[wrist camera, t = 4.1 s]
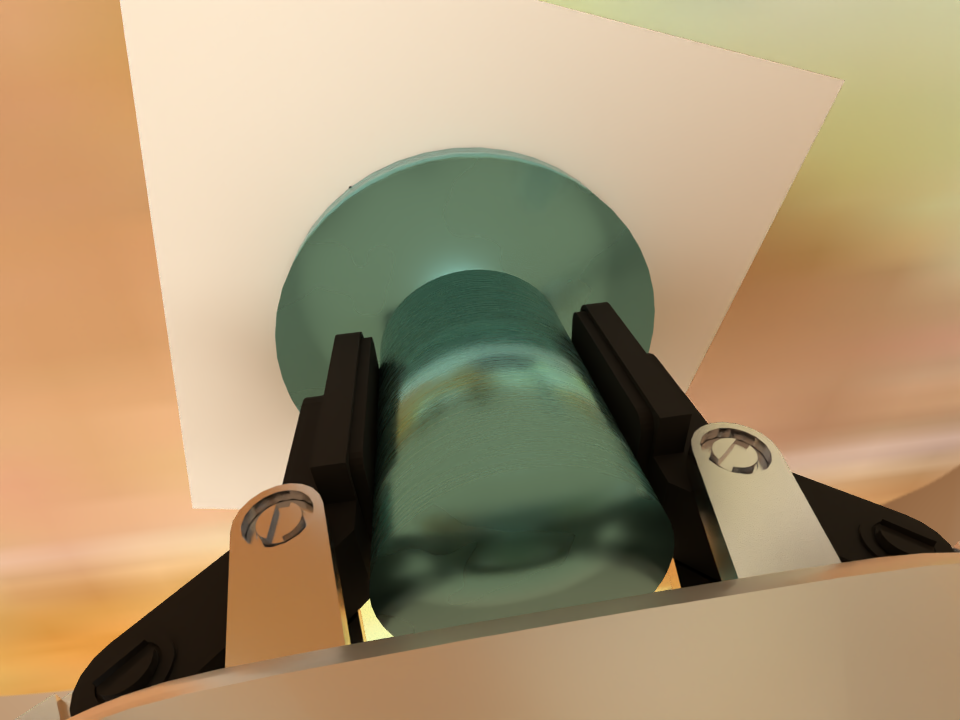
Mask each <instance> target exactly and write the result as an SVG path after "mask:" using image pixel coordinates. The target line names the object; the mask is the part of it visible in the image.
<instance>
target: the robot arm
mask: <svg viewBox="0 0 960 720" xmlns="http://www.w3.org/2000/svg"><path fill="white" fill-rule="evenodd" d="M571 341H572V343H573V345H574V347H575V348H576V350H577V352H578V354H579V356H580V358H581V359H582V361H583V363H584V365H585V367H586V368H587V370H588V372H589V374H590V376H591V378H592V379H593V381H594V383H595V385H596V387H597V389H598V390H599V392H600V394H601V396H602V398H603V399H604V401H605V403H606V405H607V407H608V409H609V410H610V412H611V414H612V416H613V418H614V420H615V421H616V423H617V425H618V427H619V429H620V430H621V432H622V434H623V436H624V438H625V440H626V441H627V443H628V445H629V447H630V449H631V451H632V452H633V454H634V456H635V458H636V460H637V461H638V463H639V465H640V467H641V469H642V471H643V472H644V474H645V476H646V478H647V480H648V482H649V483H650V485H651V487H652V489H653V491H654V492H655V494H656V496H657V498H658V500H659V502H660V503H661V505H662V507H663V509H664V511H665V513H666V514H667V516H668V518H669V520H670V522H671V525H672V529H673V532H674V544H675V545H674V552H673V558H672V561H671V563H670V566H669V569H668V574H669V578H670V582H671V587H672V590H666V591H660V592H654V593H648V594H642V595H636V596H630V597H624V598H618V599H612V600H606V601H600V602H594V603H588V604H582V605H576V606H571V607H565V608H559V609H553V610H547V611H541V612H535V613H529V614H523V615H517V616H512V617H506V618H500V619H494V620H488V621H482V622H476V623H470V624H465V625H459V626H453V627H447V628H442V629H436V630H430V631H424V632H419V633H413V634H407V635H402V636H396V637H390V638H384V639H379V640H373V641H366V636H365V631H364V625H363V620H362V615H361V610H360V608H361V607H362V606H363V605H364V604H365V603H366V602H367V601H368V600H369V598H370V596H369V584H370V562H371V540H372V519H373V497H374V476H375V454H376V433H377V411H378V390H379V365H378V360H377V355H376V350H375V345H374V341H373V338H372V337H367V338H364V336H363V334H362V332H354V333H345V334H337V335H335V338H334V344H333V349H332V354H331V359H330V364H329V370H328V375H327V380H326V385H325V390H324V395H322V396H314V397H306V398H305V399H304V400H303V402H302V405H301V409H300V413H299V417H298V422H297V426H296V430H295V434H294V438H293V442H292V446H291V450H290V454H289V458H288V462H287V467H286V471H285V475H284V479H283V483H282V485H278V486H275V487H272V488H270V489H267V490H265V491H262V492H261V493H259V494H258V495H256V496H255V497H253V498H252V499H250V500H249V501H248V502H247V503H246V504H245V505H244V506H243V507H242V508H241V509H240V510H239V512H238V514H237V515H236V517H235V519H234V520H233V523H232V527H231V532H230V550H229V551H228V552H226V553H225V554H224V555H223V556H221V557H220V558H219V559H217V560H216V561H215V562H214V563H212V564H211V565H210V566H209V567H207V568H206V569H205V570H203V571H202V572H201V573H200V574H198V575H197V576H196V577H194V578H193V579H192V580H191V581H189V582H188V583H187V584H185V585H184V586H183V587H182V588H180V589H179V590H178V591H176V592H175V593H174V594H173V595H171V596H170V597H169V598H168V599H166V600H165V601H164V602H162V603H161V604H160V605H159V606H157V607H156V608H155V609H153V610H152V611H151V612H150V613H148V614H147V615H146V616H144V617H143V618H142V619H141V620H139V621H138V622H137V623H136V624H134V625H133V626H132V627H130V628H129V629H128V630H127V631H125V632H124V633H123V634H121V635H120V636H119V637H118V638H116V639H115V640H114V641H112V642H111V643H110V644H109V645H108V646H107V647H106V648H104V649H103V650H102V651H101V652H100V653H99V654H98V655H97V656H96V657H95V658H94V659H93V660H92V661H91V663H90V664H89V665H88V667H87V668H86V669H85V671H84V672H83V673H82V675H81V676H80V678H79V680H78V682H77V684H76V687H75V689H74V691H72V692H71V693H69V694H68V695H66V696H65V697H63V698H62V699H61V698H60V697H58V696H57V695H56V694H53V695H52V696H50V697H48V698H47V699H45V700H44V701H42V702H41V703H39V704H38V705H36V706H35V707H34V708H32V709H30V710H29V711H27V712H26V713H24V714H23V715H21V716H20V717H18V718H17V719H15V720H960V541H958V542H957V543H956V545H955V546H954V547H951V545H950V544H949V543H948V542H947V541H946V540H945V539H943V538H942V537H941V536H940V535H939V534H938V533H937V532H936V531H934V530H933V529H931V528H929V527H928V526H927V525H925V524H924V523H922V522H920V521H918V520H916V519H913V518H911V517H909V516H907V515H905V514H902V513H899V512H897V511H894V510H892V509H889V508H886V507H883V506H881V505H878V504H875V503H873V502H870V501H867V500H865V499H862V498H859V497H857V496H854V495H851V494H849V493H846V492H843V491H840V490H838V489H835V488H832V487H830V486H827V485H824V484H822V483H819V482H816V481H814V480H811V479H808V478H806V477H803V476H800V475H797V474H795V473H792V472H791V471H790V469H789V467H788V465H787V463H786V462H785V460H784V458H783V456H782V454H781V453H780V451H779V449H778V448H777V447H776V446H775V444H774V443H773V442H772V441H771V440H770V439H768V438H767V437H766V436H764V435H763V434H762V433H760V432H758V431H756V430H754V429H752V428H749V427H746V426H743V425H739V424H735V423H726V422H719V423H710V424H708V423H707V422H706V421H705V419H704V418H703V417H702V415H701V414H700V413H699V411H698V410H697V409H696V408H695V406H694V405H693V404H692V402H691V401H690V400H689V399H688V397H687V396H686V395H685V393H684V392H683V391H682V389H681V388H680V387H679V386H678V384H677V383H676V382H675V380H674V379H673V378H672V377H671V375H670V374H669V373H668V371H667V370H666V369H665V367H664V366H663V365H662V364H661V362H660V361H659V360H658V358H657V357H656V356H655V355H654V354H651V353H646V352H645V350H644V349H643V348H642V346H641V345H640V344H639V342H638V341H637V340H636V338H635V337H634V336H633V334H632V333H631V332H630V330H629V329H628V328H627V326H626V325H625V324H624V322H623V321H622V320H621V318H620V317H619V316H618V314H617V313H616V312H615V310H614V309H613V308H612V306H611V305H610V304H609V303H608V302H602V303H594V304H586V305H582V306H581V309H580V312H574V313H573V318H572V337H571Z"/></svg>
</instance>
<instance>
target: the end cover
mask: <svg viewBox="0 0 960 720" xmlns="http://www.w3.org/2000/svg"><path fill="white" fill-rule="evenodd" d="M602 302H608V303H609V304H610V305H611V306H612V308H613V309H614V310H615V312H616V313H617V314H618V316H619V317H620V318H621V320H622V321H623V322H624V324H625V325H626V326H627V328H628V329H629V330H630V332H631V333H632V334H633V336H634V337H635V338H636V340H637V341H638V342H639V344H640V345H641V346H642V348H643V349H644V350H645V352H646V353H649V349H650V344H651V340H652V335H653V329H654V316H655V306H654V291H653V286H652V282H651V277H650V273H649V269H648V266H647V264H646V261H645V259H644V256H643V254H642V251H641V249H640V247H639V245H638V244H637V242H636V240H635V239H634V237H633V235H632V234H631V232H630V230H629V229H628V228H627V226H626V225H625V224H624V223H623V222H622V221H621V219H620V218H619V217H618V216H617V215H616V213H615V212H614V211H613V210H612V209H611V208H610V207H609V206H607V205H606V204H605V203H604V202H603V201H602V200H601V199H599V198H598V197H597V196H596V195H595V194H594V193H592V192H591V191H590V190H589V189H588V188H587V187H585V186H584V185H583V184H582V183H581V182H580V181H578V180H577V179H575V178H573V177H572V176H570V175H569V174H567V173H565V172H564V171H562V170H561V169H559V168H557V167H555V166H552V165H550V164H548V163H546V162H543V161H541V160H539V159H536V158H534V157H530V156H526V155H523V154H519V153H515V152H511V151H507V150H499V149H490V148H482V147H477V148H450V149H444V150H438V151H432V152H426V153H422V154H419V155H415V156H412V157H409V158H406V159H403V160H399V161H397V162H394V163H392V164H390V165H388V166H386V167H384V168H382V169H380V170H378V171H375V172H373V173H371V174H370V175H368V176H367V177H365V178H364V179H362V180H361V181H359V182H358V183H356V184H355V185H353V186H352V187H350V188H349V189H348V190H347V191H345V192H344V193H343V194H342V195H341V196H340V197H339V198H338V199H336V200H335V201H334V202H333V203H332V204H331V205H330V206H329V207H328V208H327V209H326V210H325V211H324V213H323V214H322V215H321V216H320V217H319V219H318V220H317V221H316V222H315V223H314V225H313V226H312V227H311V229H310V231H309V232H308V234H307V236H306V237H305V239H304V241H303V242H302V244H301V245H300V247H299V249H298V252H297V254H296V256H295V259H294V261H293V264H292V266H291V268H290V271H289V273H288V276H287V278H286V280H285V283H284V285H283V288H282V291H281V296H280V300H279V304H278V308H277V313H276V328H275V341H276V352H277V360H278V363H279V367H280V371H281V375H282V379H283V381H284V384H285V386H286V388H287V391H288V393H289V395H290V397H291V399H292V401H293V403H294V404H295V406H296V407H297V409H298V411H299V412H300V409H301V405H302V402H303V400H304V399H305V398H306V397H314V396H322V395H324V390H325V385H326V380H327V375H328V370H329V364H330V359H331V354H332V349H333V344H334V338H335V335H337V334H345V333H354V332H362V334H363V336H364V338H367V337H372V338H373V341H374V345H375V350H376V355H377V360H378V365H379V390H378V411H377V433H376V454H375V476H374V497H373V519H372V540H371V562H370V584H369V596H370V601H371V606H372V608H373V610H374V613H375V615H376V617H377V618H378V620H379V621H380V623H381V624H382V625H383V627H384V628H385V629H386V630H388V631H389V632H390V633H391V634H392V635H393V636H394V637H396V636H402V635H407V634H413V633H419V632H424V631H430V630H436V629H442V628H447V627H453V626H459V625H465V624H470V623H476V622H482V621H488V620H494V619H500V618H506V617H512V616H517V615H523V614H529V613H535V612H541V611H547V610H553V609H559V608H565V607H571V606H576V605H582V604H588V603H594V602H600V601H606V600H612V599H618V598H624V597H630V596H636V595H642V594H648V593H653V592H654V591H655V590H656V588H657V587H658V586H659V584H660V583H661V582H662V580H663V578H664V577H665V575H666V573H667V571H668V569H669V566H670V563H671V561H672V558H673V552H674V545H675V544H674V532H673V529H672V525H671V522H670V520H669V518H668V516H667V514H666V513H665V511H664V509H663V507H662V505H661V503H660V502H659V500H658V498H657V496H656V494H655V492H654V491H653V489H652V487H651V485H650V483H649V482H648V480H647V478H646V476H645V474H644V472H643V471H642V469H641V467H640V465H639V463H638V461H637V460H636V458H635V456H634V454H633V452H632V451H631V449H630V447H629V445H628V443H627V441H626V440H625V438H624V436H623V434H622V432H621V430H620V429H619V427H618V425H617V423H616V421H615V420H614V418H613V416H612V414H611V412H610V410H609V409H608V407H607V405H606V403H605V401H604V399H603V398H602V396H601V394H600V392H599V390H598V389H597V387H596V385H595V383H594V381H593V379H592V378H591V376H590V374H589V372H588V370H587V368H586V367H585V365H584V363H583V361H582V359H581V358H580V356H579V354H578V352H577V350H576V348H575V347H574V345H573V343H572V341H571V337H572V318H573V313H574V312H580V309H581V306H582V305H586V304H594V303H602Z"/></svg>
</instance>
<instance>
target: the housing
mask: <svg viewBox="0 0 960 720" xmlns="http://www.w3.org/2000/svg"><path fill="white" fill-rule="evenodd" d="M120 5H121V12H122V19H123V26H124V33H125V40H126V47H127V54H128V61H129V68H130V75H131V82H132V89H133V96H134V103H135V110H136V117H137V124H138V130H139V137H140V144H141V151H142V158H143V165H144V172H145V179H146V186H147V193H148V200H149V207H150V214H151V221H152V228H153V235H154V242H155V249H156V256H157V263H158V270H159V277H160V284H161V291H162V298H163V305H164V312H165V319H166V326H167V333H168V340H169V347H170V354H171V361H172V368H173V375H174V382H175V389H176V396H177V403H178V410H179V417H180V424H181V431H182V438H183V445H184V452H185V458H186V465H187V472H188V479H189V486H190V493H191V500H192V507H193V508H202V509H241V508H242V507H243V506H244V505H245V504H246V503H247V502H248V501H249V500H250V499H252V498H253V497H255V496H256V495H258V494H259V493H261V492H262V491H265V490H267V489H270V488H272V487H275V486H278V485H282V483H283V479H284V475H285V471H286V467H287V462H288V458H289V454H290V450H291V446H292V442H293V438H294V434H295V430H296V426H297V422H298V417H299V413H300V412H299V411H298V409H297V407H296V406H295V404H294V403H293V401H292V399H291V397H290V395H289V393H288V391H287V388H286V386H285V384H284V381H283V379H282V375H281V371H280V367H279V363H278V360H277V352H276V341H275V328H276V313H277V308H278V304H279V300H280V296H281V291H282V288H283V285H284V283H285V280H286V278H287V276H288V273H289V271H290V268H291V266H292V264H293V261H294V259H295V256H296V254H297V252H298V249H299V247H300V245H301V244H302V242H303V241H304V239H305V237H306V236H307V234H308V232H309V231H310V229H311V227H312V226H313V225H314V223H315V222H316V221H317V220H318V219H319V217H320V216H321V215H322V214H323V213H324V211H325V210H326V209H327V208H328V207H329V206H330V205H331V204H332V203H333V202H334V201H335V200H336V199H338V198H339V197H340V196H341V195H342V194H343V193H344V192H345V191H347V190H348V189H349V188H350V187H352V186H353V185H355V184H356V183H358V182H359V181H361V180H362V179H364V178H365V177H367V176H368V175H370V174H371V173H373V172H375V171H378V170H380V169H382V168H384V167H386V166H388V165H390V164H392V163H394V162H397V161H399V160H403V159H406V158H409V157H412V156H415V155H419V154H422V153H426V152H432V151H438V150H444V149H450V148H477V147H482V148H490V149H499V150H507V151H511V152H515V153H519V154H523V155H526V156H530V157H534V158H536V159H539V160H541V161H543V162H546V163H548V164H550V165H552V166H555V167H557V168H559V169H561V170H562V171H564V172H565V173H567V174H569V175H570V176H572V177H573V178H575V179H577V180H578V181H580V182H581V183H582V184H583V185H584V186H585V187H587V188H588V189H589V190H590V191H591V192H592V193H594V194H595V195H596V196H597V197H598V198H599V199H601V200H602V201H603V202H604V203H605V204H606V205H607V206H609V207H610V208H611V209H612V210H613V211H614V212H615V213H616V215H617V216H618V217H619V218H620V219H621V221H622V222H623V223H624V224H625V225H626V226H627V228H628V229H629V230H630V232H631V234H632V235H633V237H634V239H635V240H636V242H637V244H638V245H639V247H640V249H641V251H642V254H643V256H644V259H645V261H646V264H647V266H648V269H649V273H650V277H651V282H652V286H653V291H654V306H655V316H654V329H653V335H652V340H651V344H650V349H649V353H651V354H654V355H655V356H656V357H657V358H658V360H659V361H660V362H661V364H662V365H663V366H664V367H665V369H666V370H667V371H668V373H669V374H670V375H671V377H672V378H673V379H674V380H675V382H676V383H677V384H678V386H679V387H680V388H681V389H682V391H683V392H684V393H685V394H686V392H687V390H688V388H689V386H690V384H691V382H692V380H693V378H694V376H695V374H696V372H697V370H698V368H699V366H700V364H701V362H702V360H703V358H704V356H705V354H706V352H707V350H708V348H709V347H710V345H711V343H712V341H713V339H714V337H715V335H716V333H717V331H718V329H719V327H720V325H721V323H722V321H723V319H724V317H725V315H726V313H727V311H728V309H729V307H730V305H731V303H732V301H733V299H734V297H735V295H736V293H737V291H738V290H739V288H740V286H741V284H742V282H743V280H744V278H745V276H746V274H747V272H748V270H749V268H750V266H751V264H752V262H753V260H754V258H755V256H756V254H757V252H758V250H759V248H760V246H761V244H762V242H763V240H764V238H765V236H766V235H767V233H768V231H769V229H770V227H771V225H772V223H773V221H774V219H775V217H776V215H777V213H778V211H779V209H780V207H781V205H782V203H783V201H784V199H785V197H786V195H787V193H788V191H789V189H790V187H791V185H792V183H793V181H794V179H795V178H796V176H797V174H798V172H799V170H800V168H801V166H802V164H803V162H804V160H805V158H806V156H807V154H808V152H809V150H810V148H811V146H812V144H813V142H814V140H815V138H816V136H817V134H818V132H819V130H820V128H821V126H822V124H823V123H824V121H825V119H826V117H827V115H828V113H829V111H830V109H831V107H832V105H833V103H834V101H835V99H836V97H837V95H838V93H839V91H840V89H841V87H842V85H843V83H844V81H845V80H842V79H838V78H834V77H831V76H827V75H823V74H819V73H815V72H811V71H807V70H804V69H800V68H796V67H792V66H788V65H784V64H781V63H777V62H773V61H769V60H765V59H761V58H758V57H754V56H750V55H746V54H742V53H738V52H735V51H731V50H727V49H723V48H719V47H715V46H712V45H708V44H704V43H700V42H696V41H692V40H689V39H685V38H681V37H677V36H673V35H669V34H666V33H662V32H658V31H654V30H650V29H646V28H642V27H639V26H635V25H631V24H627V23H623V22H619V21H616V20H612V19H608V18H604V17H600V16H596V15H593V14H589V13H585V12H581V11H577V10H573V9H570V8H566V7H562V6H558V5H554V4H550V3H547V2H543V1H539V0H120Z"/></svg>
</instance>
